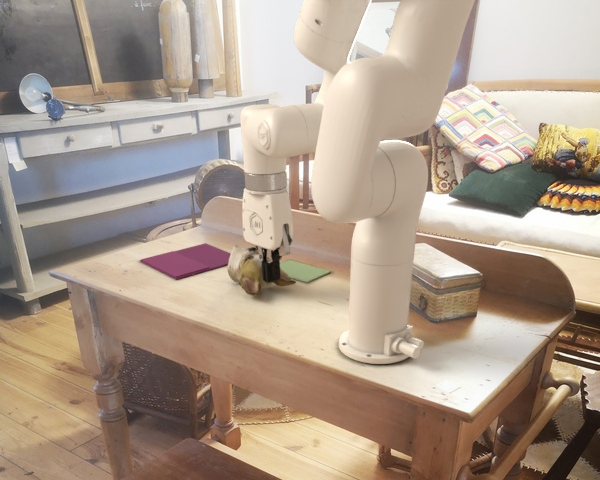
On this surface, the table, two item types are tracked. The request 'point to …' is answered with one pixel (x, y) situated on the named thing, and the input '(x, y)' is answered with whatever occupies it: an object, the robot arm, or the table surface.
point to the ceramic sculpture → (251, 271)
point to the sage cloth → (302, 271)
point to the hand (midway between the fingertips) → (271, 279)
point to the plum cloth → (188, 261)
